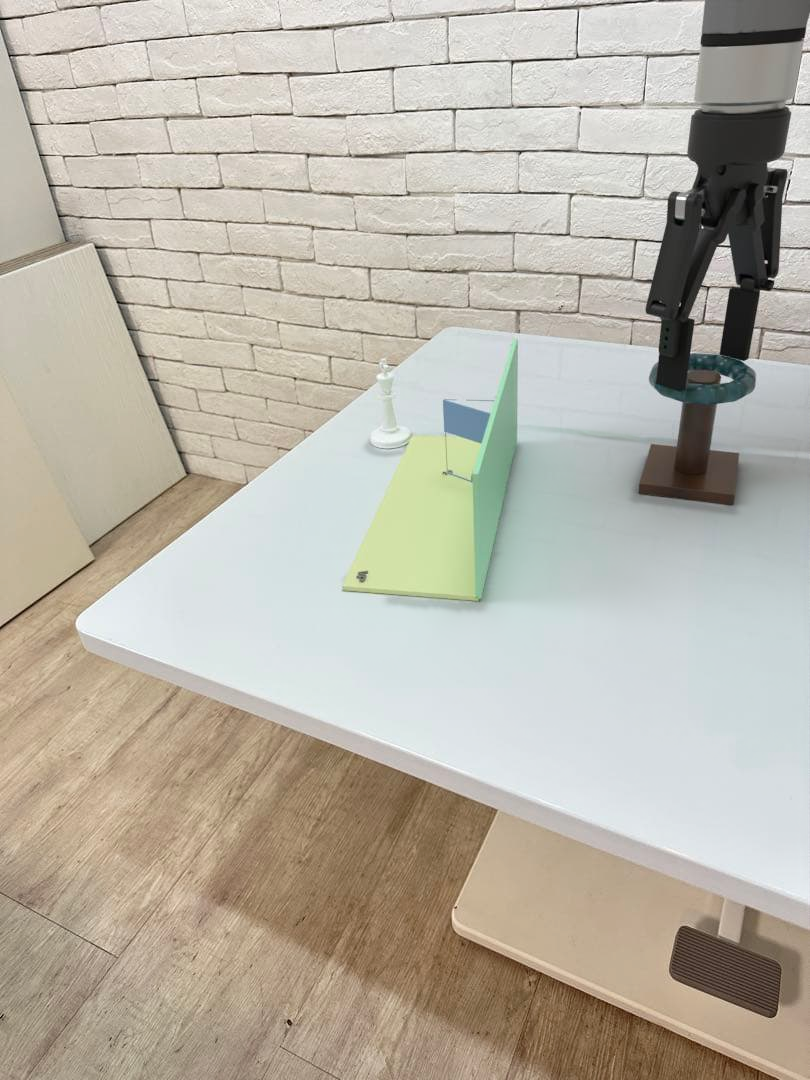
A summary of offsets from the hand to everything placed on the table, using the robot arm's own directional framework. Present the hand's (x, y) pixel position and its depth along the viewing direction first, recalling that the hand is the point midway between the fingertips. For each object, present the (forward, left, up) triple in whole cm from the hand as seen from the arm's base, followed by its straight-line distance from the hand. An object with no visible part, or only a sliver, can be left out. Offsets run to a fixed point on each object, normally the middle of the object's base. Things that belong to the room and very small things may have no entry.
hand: (703, 371), depth 76 cm
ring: (0, 0, -1) cm, 1 cm away
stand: (0, 0, -12) cm, 12 cm away
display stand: (+23, +12, -12) cm, 28 cm away
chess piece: (+34, -1, -12) cm, 36 cm away
